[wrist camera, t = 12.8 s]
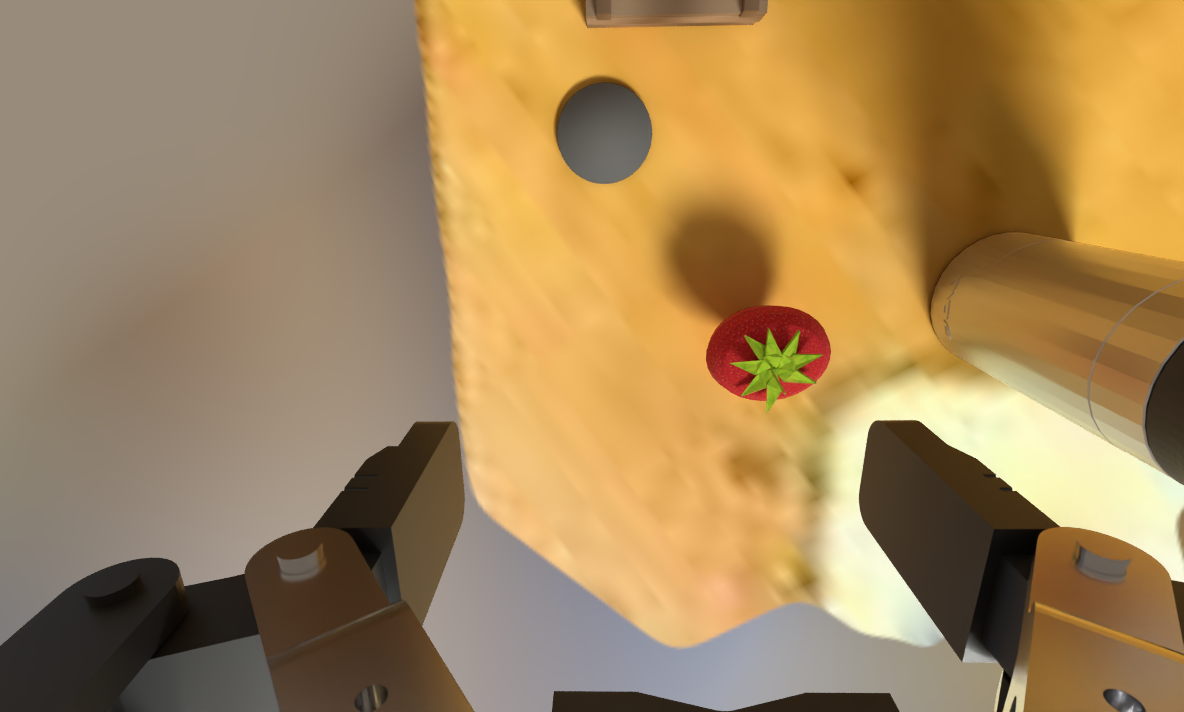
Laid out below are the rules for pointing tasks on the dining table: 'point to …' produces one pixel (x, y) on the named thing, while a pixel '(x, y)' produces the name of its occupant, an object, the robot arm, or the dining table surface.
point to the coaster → (604, 133)
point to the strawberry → (768, 353)
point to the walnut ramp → (673, 12)
